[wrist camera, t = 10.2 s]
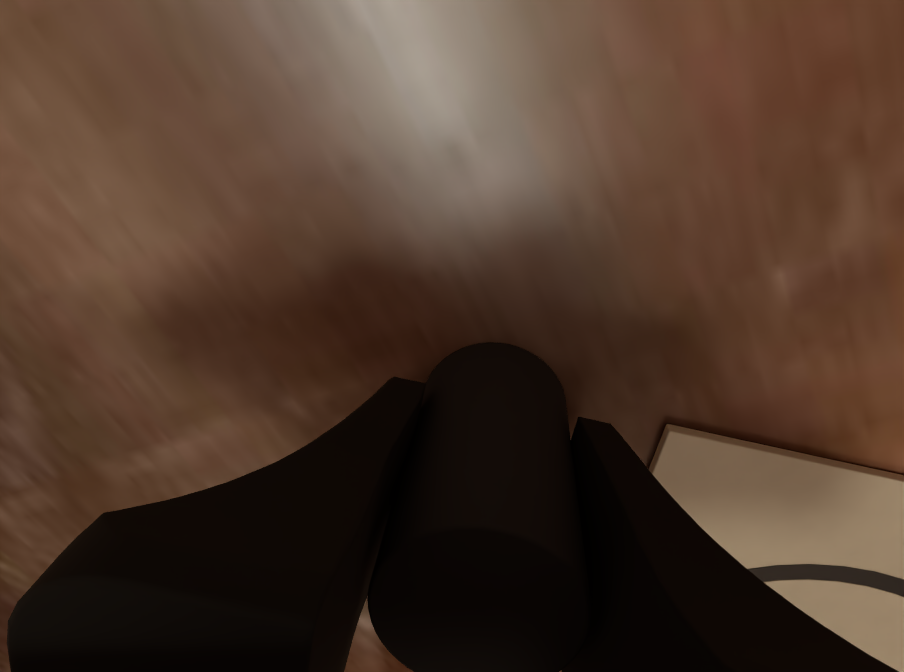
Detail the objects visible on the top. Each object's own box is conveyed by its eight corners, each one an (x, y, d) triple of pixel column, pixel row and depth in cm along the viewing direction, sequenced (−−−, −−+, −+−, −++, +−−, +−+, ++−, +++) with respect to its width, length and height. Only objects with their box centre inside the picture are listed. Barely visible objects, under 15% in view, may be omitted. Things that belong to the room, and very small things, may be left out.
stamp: (545, 479, 14) (558, 713, 9) (411, 449, 14) (353, 668, 9) (583, 359, 13) (621, 555, 8) (435, 326, 13) (384, 503, 8)
